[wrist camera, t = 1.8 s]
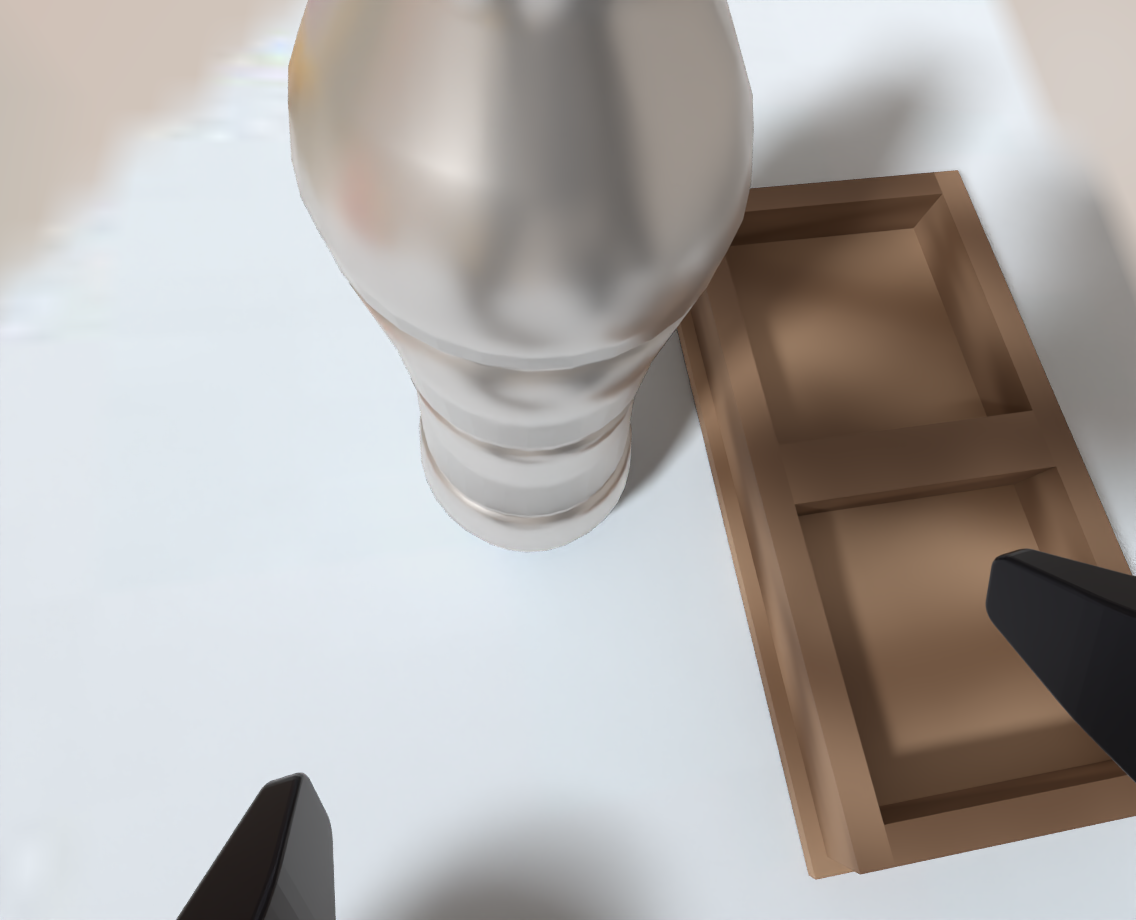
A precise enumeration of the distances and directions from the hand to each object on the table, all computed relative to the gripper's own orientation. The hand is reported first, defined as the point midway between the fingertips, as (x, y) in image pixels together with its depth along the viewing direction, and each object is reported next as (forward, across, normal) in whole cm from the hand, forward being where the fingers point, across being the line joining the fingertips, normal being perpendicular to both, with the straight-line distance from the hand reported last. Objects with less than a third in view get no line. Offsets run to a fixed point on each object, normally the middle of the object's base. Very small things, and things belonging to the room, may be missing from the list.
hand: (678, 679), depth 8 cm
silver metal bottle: (+15, 0, +4) cm, 16 cm away
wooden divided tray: (+12, -12, +7) cm, 19 cm away
